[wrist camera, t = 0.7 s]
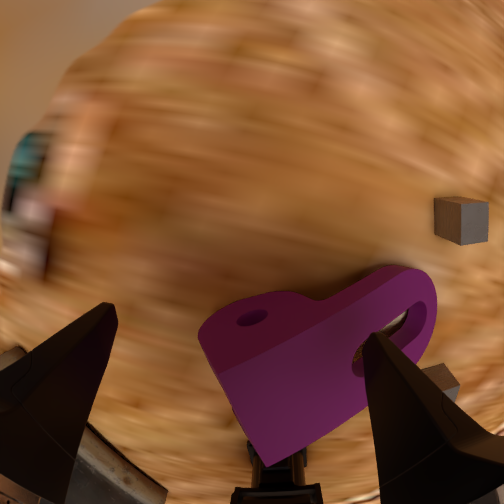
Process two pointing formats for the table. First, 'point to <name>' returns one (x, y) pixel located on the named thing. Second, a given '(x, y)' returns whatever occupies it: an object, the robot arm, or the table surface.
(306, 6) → the table surface
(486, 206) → the stop blocks
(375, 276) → the mounting bracket
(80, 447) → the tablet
